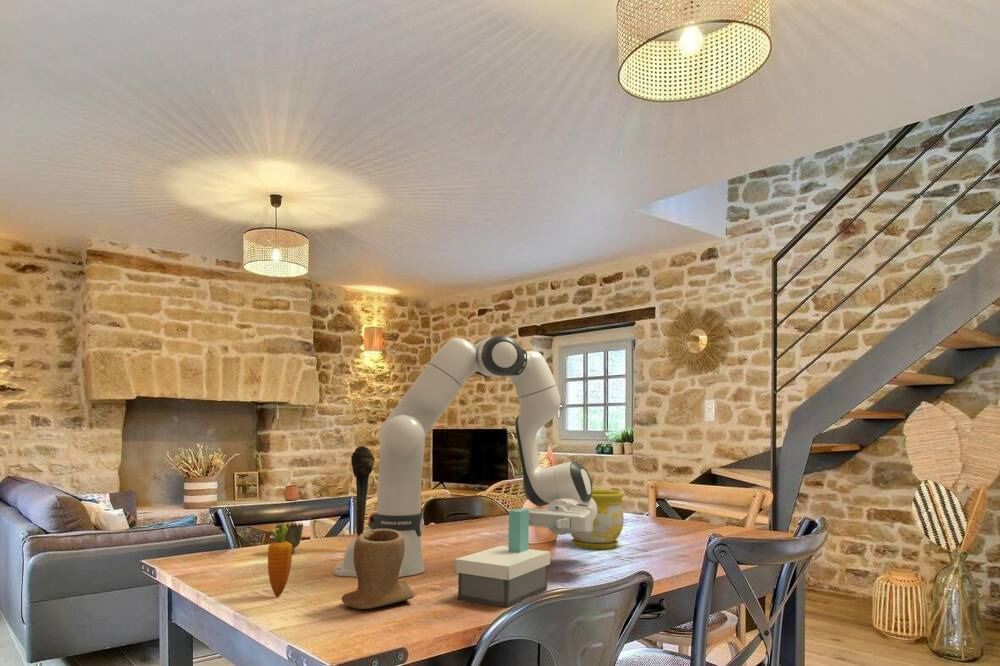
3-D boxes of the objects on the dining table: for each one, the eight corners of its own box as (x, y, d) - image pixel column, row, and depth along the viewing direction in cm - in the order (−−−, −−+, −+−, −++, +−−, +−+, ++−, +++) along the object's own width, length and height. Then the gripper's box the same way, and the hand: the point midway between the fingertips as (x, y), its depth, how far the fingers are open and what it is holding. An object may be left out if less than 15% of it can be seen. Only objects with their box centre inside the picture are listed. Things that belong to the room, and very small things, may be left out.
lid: (508, 580, 136) (509, 520, 138) (454, 572, 143) (455, 515, 145) (550, 563, 153) (550, 511, 154) (500, 557, 159) (501, 506, 161)
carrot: (276, 601, 139) (280, 526, 141) (260, 597, 142) (264, 524, 144) (295, 596, 144) (298, 524, 146) (279, 592, 146) (283, 522, 148)
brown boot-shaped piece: (363, 618, 128) (366, 537, 130) (334, 605, 137) (337, 529, 139) (428, 605, 138) (430, 529, 140) (397, 593, 147) (399, 523, 149)
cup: (296, 556, 186) (298, 526, 187) (270, 556, 186) (271, 526, 187) (304, 551, 193) (306, 523, 194) (279, 551, 193) (280, 522, 194)
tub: (507, 607, 137) (507, 572, 137) (458, 599, 143) (458, 565, 144) (546, 589, 152) (546, 557, 153) (501, 582, 158) (501, 552, 159)
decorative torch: (374, 552, 193) (378, 446, 197) (351, 554, 190) (356, 446, 194) (366, 548, 199) (369, 445, 203) (343, 550, 195) (348, 446, 199)
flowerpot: (554, 546, 206) (555, 491, 208) (582, 538, 221) (582, 487, 223) (608, 553, 196) (608, 496, 198) (633, 545, 211) (633, 491, 213)
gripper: (527, 501, 180) (501, 506, 169) (598, 506, 170) (575, 512, 158) (526, 525, 180) (500, 531, 168) (598, 532, 169) (575, 540, 157)
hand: (537, 522), depth 163 cm, fingers open, 8 cm apart
